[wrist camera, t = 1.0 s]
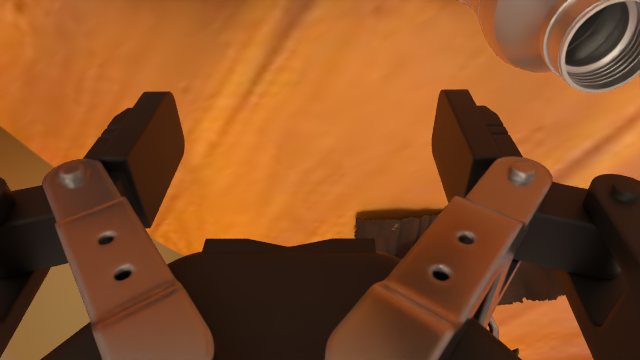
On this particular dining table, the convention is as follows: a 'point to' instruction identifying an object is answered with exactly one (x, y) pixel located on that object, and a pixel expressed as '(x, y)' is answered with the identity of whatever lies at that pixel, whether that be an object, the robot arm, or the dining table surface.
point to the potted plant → (406, 232)
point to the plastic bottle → (566, 38)
